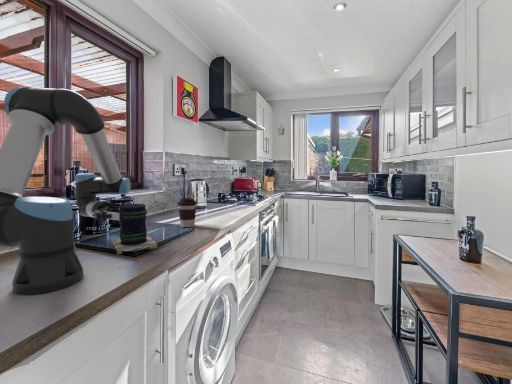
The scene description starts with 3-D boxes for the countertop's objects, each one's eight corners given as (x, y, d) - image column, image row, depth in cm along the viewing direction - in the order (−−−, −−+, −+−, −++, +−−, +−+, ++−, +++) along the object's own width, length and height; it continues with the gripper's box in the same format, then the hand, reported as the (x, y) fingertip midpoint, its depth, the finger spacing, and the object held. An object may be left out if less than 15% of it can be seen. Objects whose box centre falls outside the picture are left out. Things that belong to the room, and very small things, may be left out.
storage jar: (136, 246, 98) (135, 207, 96) (114, 244, 100) (112, 206, 98) (152, 239, 107) (151, 204, 106) (131, 238, 109) (130, 203, 108)
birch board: (157, 247, 101) (157, 244, 101) (117, 254, 93) (117, 250, 93) (148, 238, 114) (148, 235, 114) (112, 243, 106) (112, 240, 106)
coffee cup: (174, 227, 135) (173, 199, 134) (184, 223, 145) (184, 197, 143) (190, 229, 133) (190, 200, 131) (200, 225, 142) (200, 198, 141)
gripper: (126, 213, 124) (158, 217, 114) (70, 223, 101) (104, 229, 92) (125, 198, 123) (157, 201, 114) (68, 204, 101) (103, 209, 91)
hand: (134, 213), depth 103 cm, fingers open, 13 cm apart
